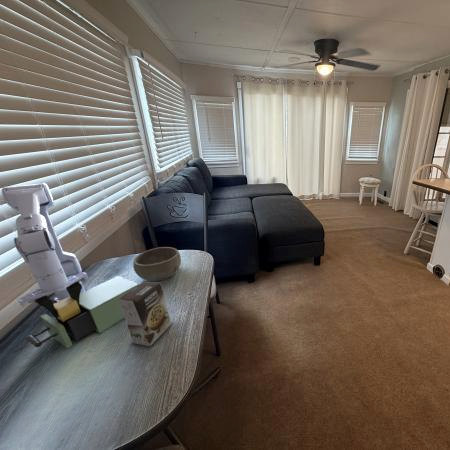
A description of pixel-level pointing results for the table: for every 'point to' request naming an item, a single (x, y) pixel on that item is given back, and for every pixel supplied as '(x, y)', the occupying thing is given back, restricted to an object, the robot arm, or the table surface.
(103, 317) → the pale mint box
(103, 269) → the table surface
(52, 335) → the drawer
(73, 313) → the block
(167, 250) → the bowl
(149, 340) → the brown food box
